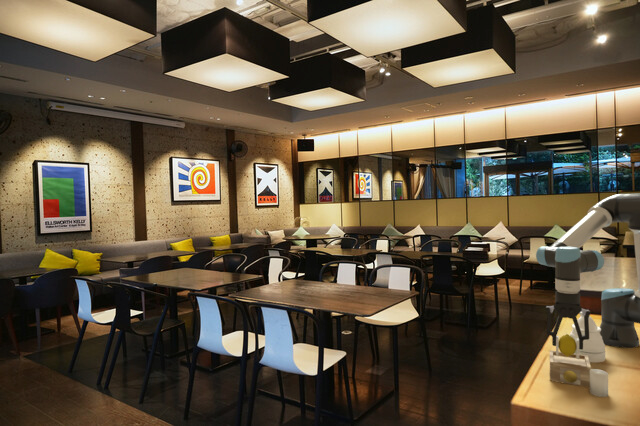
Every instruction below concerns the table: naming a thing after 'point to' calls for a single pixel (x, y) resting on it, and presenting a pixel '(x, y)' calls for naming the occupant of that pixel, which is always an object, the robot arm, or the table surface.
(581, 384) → the wooden crate
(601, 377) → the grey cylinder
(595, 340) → the honey pot
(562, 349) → the lemon
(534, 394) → the table surface
